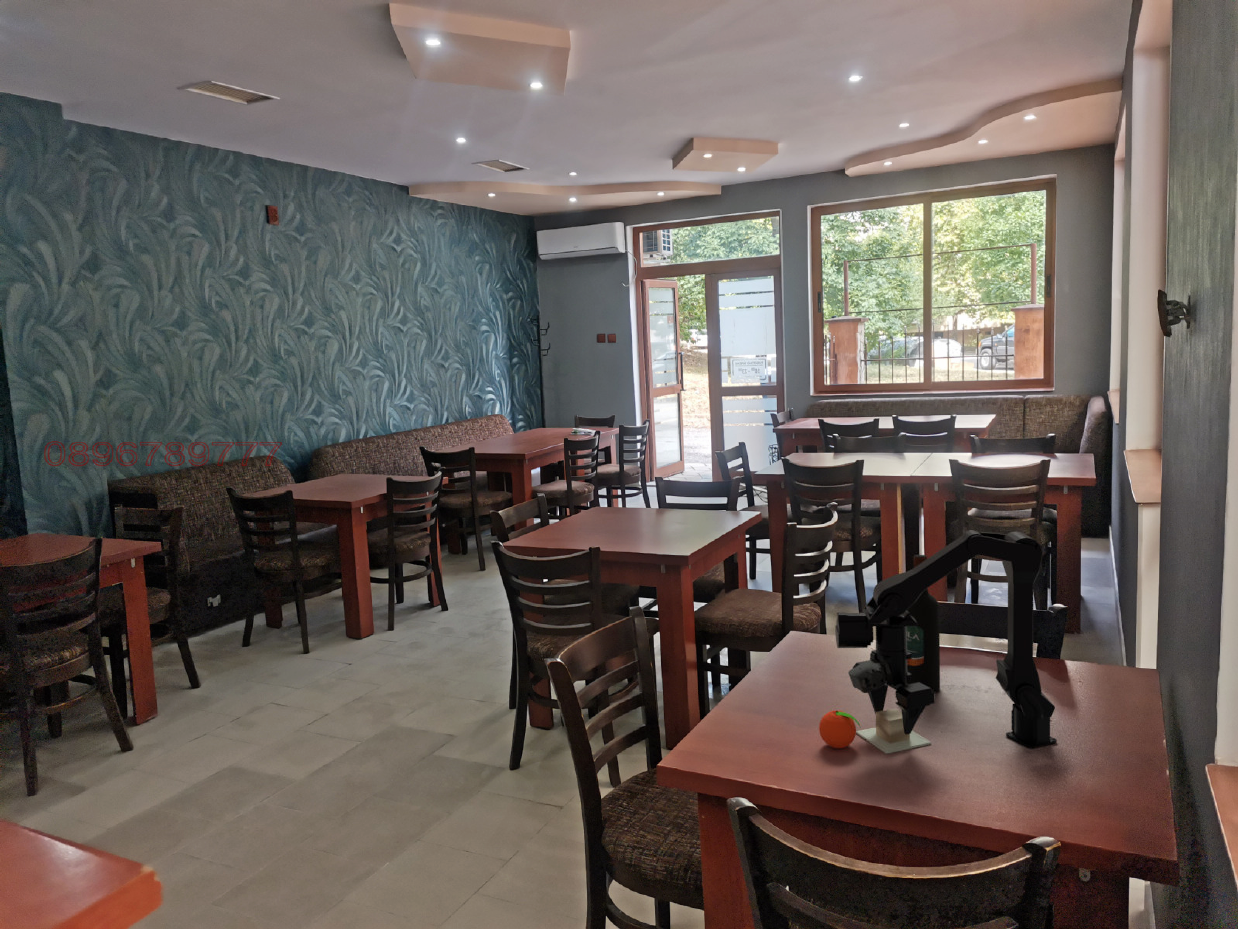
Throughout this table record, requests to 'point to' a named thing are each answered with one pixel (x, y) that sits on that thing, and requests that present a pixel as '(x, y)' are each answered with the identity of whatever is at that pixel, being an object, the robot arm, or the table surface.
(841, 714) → the clementine
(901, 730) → the sandy foam cube
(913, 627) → the wine bottle
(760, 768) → the table surface
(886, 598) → the robot arm
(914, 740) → the pad
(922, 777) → the table surface
